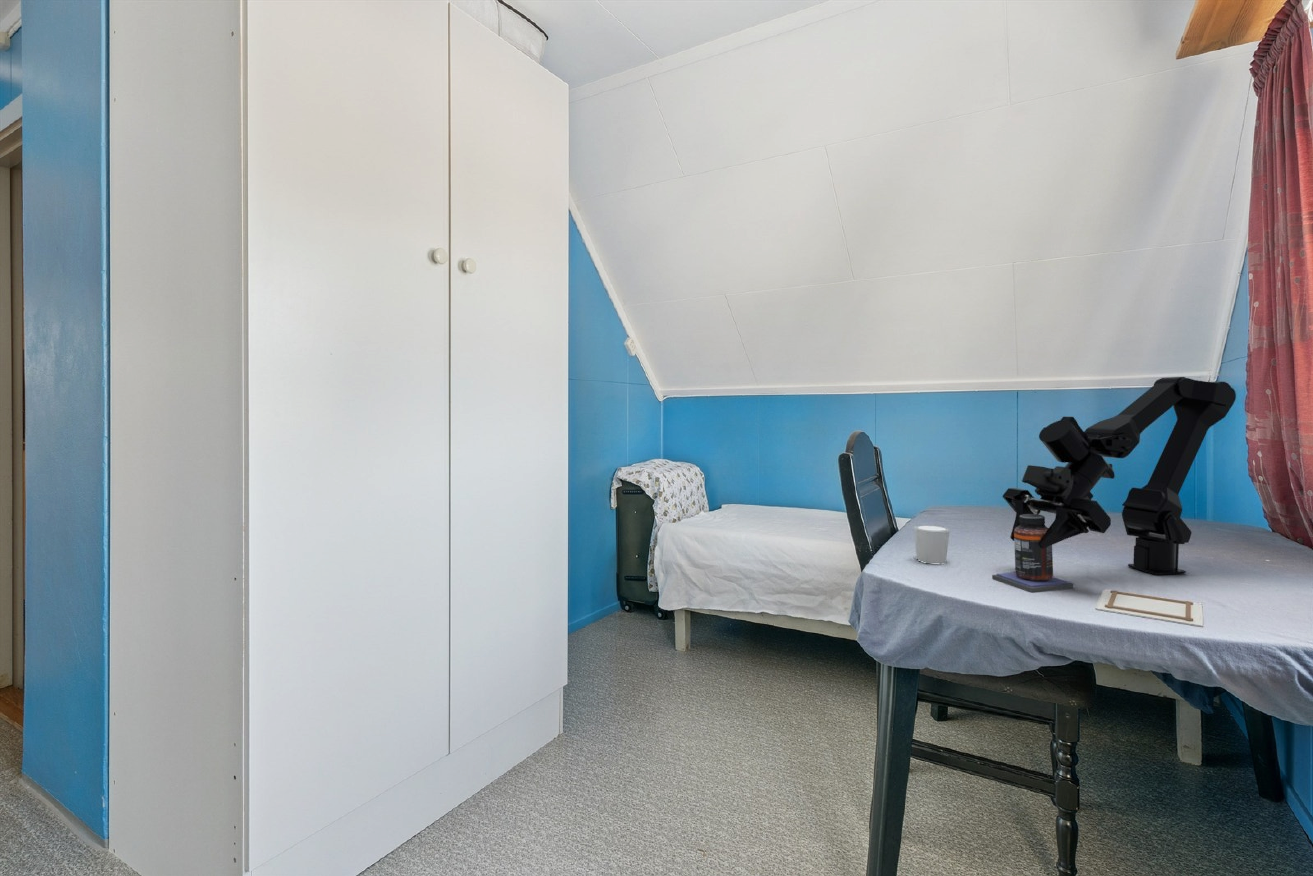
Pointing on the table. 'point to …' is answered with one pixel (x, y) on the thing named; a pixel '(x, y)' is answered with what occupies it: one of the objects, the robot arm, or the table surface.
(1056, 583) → the ink pad
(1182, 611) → the marked sheet
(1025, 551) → the supplement bottle
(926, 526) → the white short cylinder
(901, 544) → the table surface
